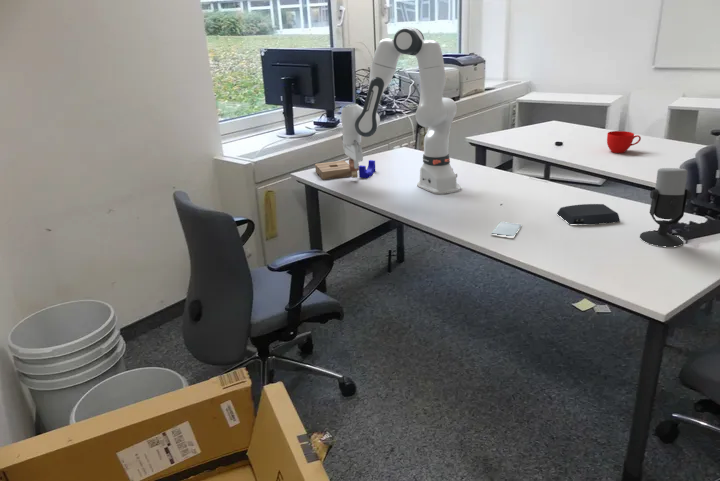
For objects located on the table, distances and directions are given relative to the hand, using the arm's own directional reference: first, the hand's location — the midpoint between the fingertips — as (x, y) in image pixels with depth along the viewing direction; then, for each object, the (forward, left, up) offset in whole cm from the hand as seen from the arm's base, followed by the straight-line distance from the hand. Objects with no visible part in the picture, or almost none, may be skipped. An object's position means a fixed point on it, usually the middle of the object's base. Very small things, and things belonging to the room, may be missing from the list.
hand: (354, 166), depth 249 cm
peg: (0, 0, -5) cm, 5 cm away
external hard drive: (-84, -68, -8) cm, 109 cm away
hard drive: (-83, -33, -8) cm, 90 cm away
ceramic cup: (-13, -149, -7) cm, 149 cm away
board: (+17, +6, -7) cm, 19 cm away
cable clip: (+7, -10, -8) cm, 14 cm away
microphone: (-110, -77, -7) cm, 135 cm away
